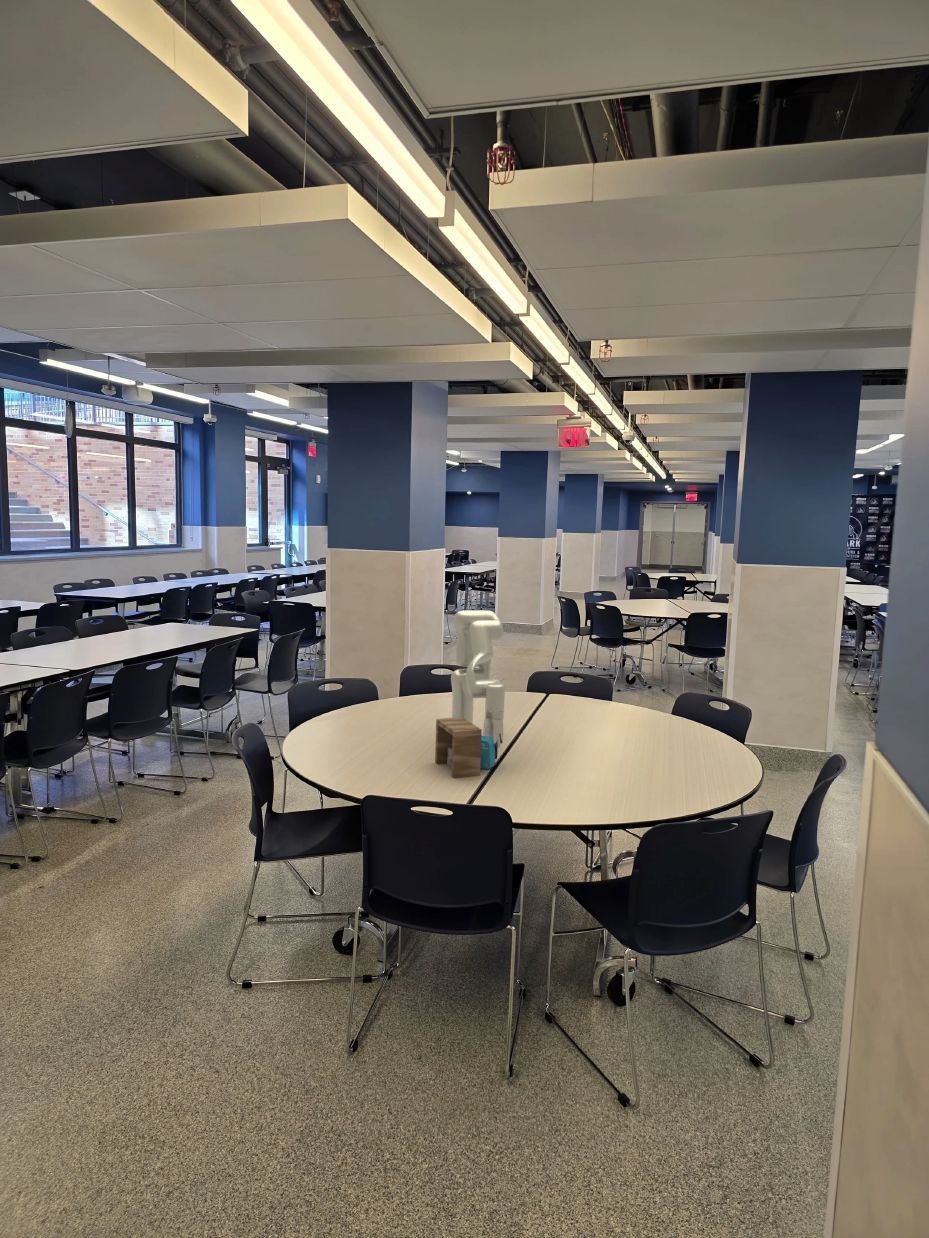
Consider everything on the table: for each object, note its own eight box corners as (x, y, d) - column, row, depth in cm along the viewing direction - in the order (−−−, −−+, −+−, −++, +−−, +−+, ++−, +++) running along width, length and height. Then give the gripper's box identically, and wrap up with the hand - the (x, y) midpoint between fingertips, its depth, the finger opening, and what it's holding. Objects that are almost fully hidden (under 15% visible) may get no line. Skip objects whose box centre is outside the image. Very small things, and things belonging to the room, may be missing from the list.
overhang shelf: (435, 762, 297) (436, 718, 295) (460, 760, 301) (461, 717, 299) (453, 778, 278) (454, 731, 276) (480, 775, 283) (481, 729, 281)
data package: (463, 764, 295) (462, 736, 292) (469, 760, 299) (468, 732, 296) (490, 770, 289) (489, 741, 287) (495, 765, 293) (494, 737, 290)
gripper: (478, 710, 299) (476, 754, 301) (493, 719, 285) (492, 765, 287) (494, 709, 302) (493, 752, 304) (511, 718, 288) (509, 763, 290)
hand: (492, 758), depth 295 cm, fingers closed
